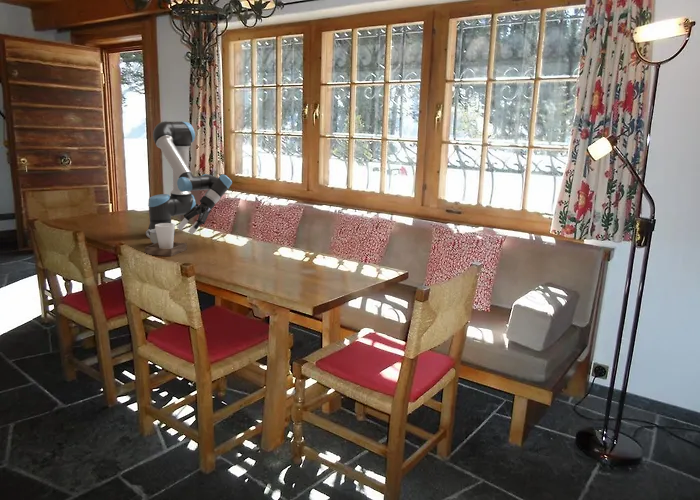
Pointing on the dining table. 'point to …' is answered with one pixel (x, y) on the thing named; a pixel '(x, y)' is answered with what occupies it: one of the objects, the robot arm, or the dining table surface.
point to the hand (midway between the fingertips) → (184, 231)
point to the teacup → (152, 236)
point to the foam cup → (165, 235)
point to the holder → (156, 250)
